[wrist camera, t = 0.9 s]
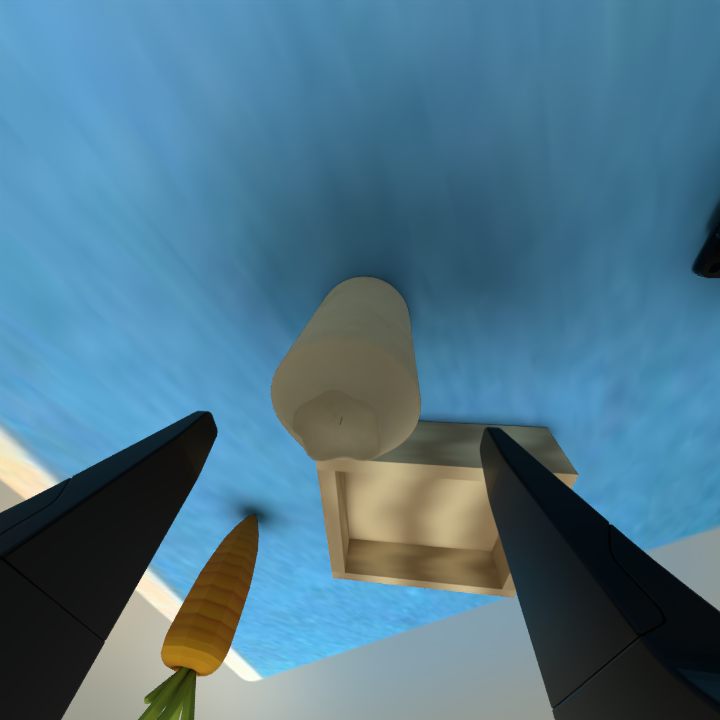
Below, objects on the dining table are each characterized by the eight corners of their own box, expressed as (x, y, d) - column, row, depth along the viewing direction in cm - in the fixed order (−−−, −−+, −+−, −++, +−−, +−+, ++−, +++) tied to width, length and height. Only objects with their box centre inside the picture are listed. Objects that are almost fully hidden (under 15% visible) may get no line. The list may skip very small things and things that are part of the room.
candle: (428, 313, 17) (464, 431, 8) (372, 372, 20) (355, 510, 11) (355, 254, 16) (310, 322, 7) (305, 325, 18) (226, 439, 10)
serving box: (547, 427, 20) (578, 474, 17) (498, 548, 28) (513, 597, 25) (327, 416, 22) (315, 457, 19) (339, 534, 30) (332, 577, 26)
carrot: (286, 519, 30) (203, 770, 17) (258, 533, 32) (164, 768, 19) (248, 494, 28) (124, 748, 15) (221, 511, 30) (91, 748, 17)
